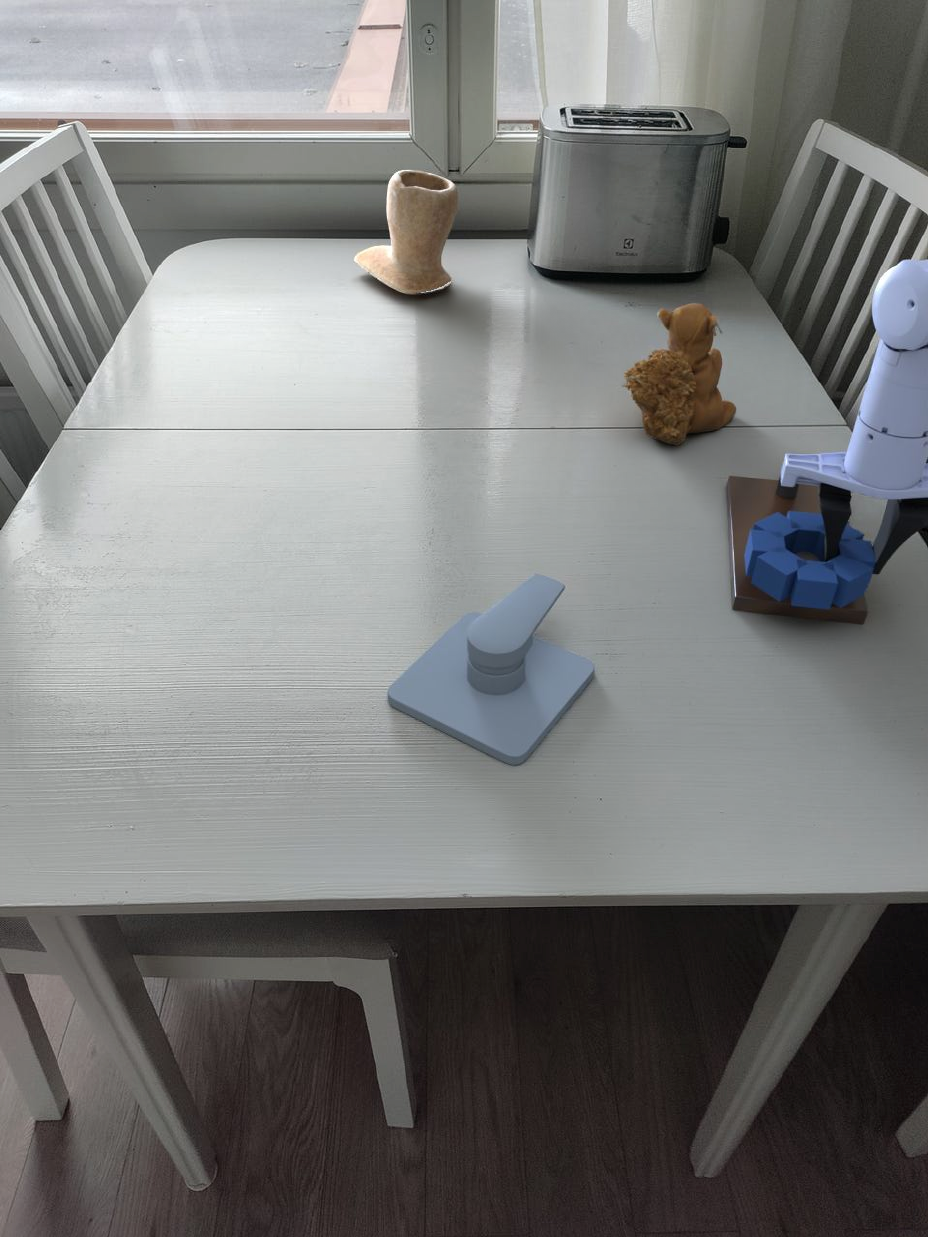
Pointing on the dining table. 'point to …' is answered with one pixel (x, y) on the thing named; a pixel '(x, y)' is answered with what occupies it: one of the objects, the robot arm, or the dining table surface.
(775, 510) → the peg rack
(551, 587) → the shower valve
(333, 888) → the dining table surface
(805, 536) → the ring
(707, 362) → the stuffed squirrel
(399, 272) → the stone cup
